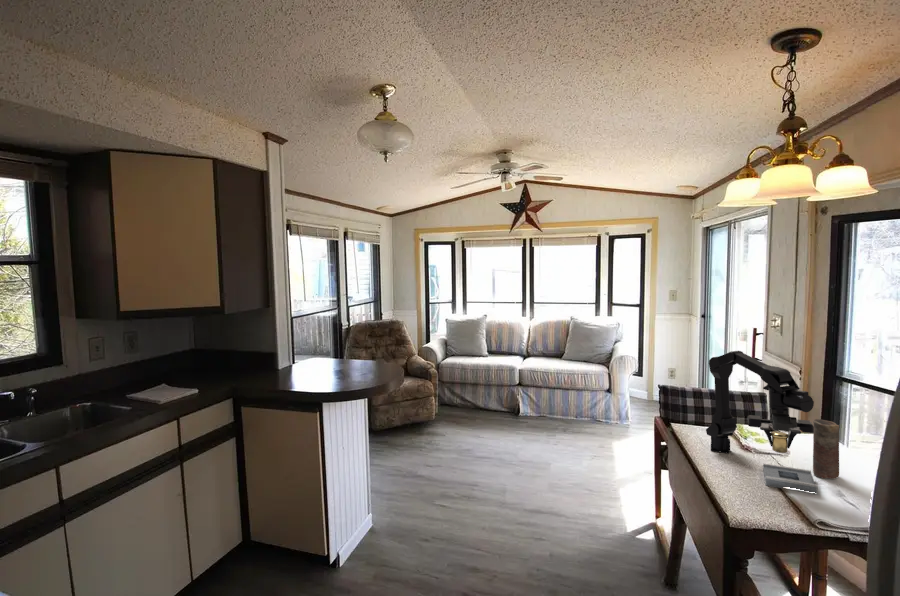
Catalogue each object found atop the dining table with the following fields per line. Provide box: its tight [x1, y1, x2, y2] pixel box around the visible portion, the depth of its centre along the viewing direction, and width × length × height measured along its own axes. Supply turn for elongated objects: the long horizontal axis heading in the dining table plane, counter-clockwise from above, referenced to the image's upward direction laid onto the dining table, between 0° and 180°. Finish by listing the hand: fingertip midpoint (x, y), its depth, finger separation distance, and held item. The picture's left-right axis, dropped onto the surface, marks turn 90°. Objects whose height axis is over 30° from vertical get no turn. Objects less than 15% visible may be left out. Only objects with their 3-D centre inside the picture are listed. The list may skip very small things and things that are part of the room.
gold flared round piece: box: [770, 430, 789, 454], centre depth 161 cm, size 5×5×6 cm
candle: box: [812, 418, 840, 480], centre depth 162 cm, size 8×7×20 cm
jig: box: [762, 462, 818, 493], centre depth 159 cm, size 14×12×3 cm
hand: (779, 447), depth 161 cm, fingers closed on gold flared round piece, 4 cm apart
